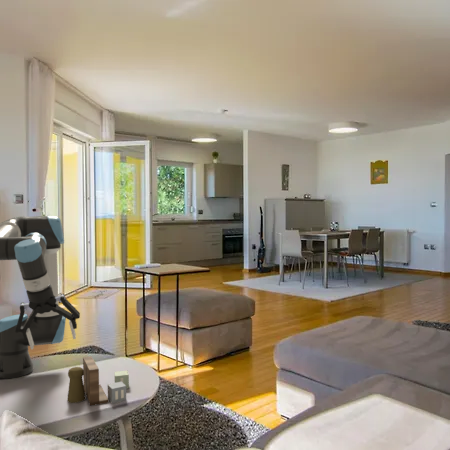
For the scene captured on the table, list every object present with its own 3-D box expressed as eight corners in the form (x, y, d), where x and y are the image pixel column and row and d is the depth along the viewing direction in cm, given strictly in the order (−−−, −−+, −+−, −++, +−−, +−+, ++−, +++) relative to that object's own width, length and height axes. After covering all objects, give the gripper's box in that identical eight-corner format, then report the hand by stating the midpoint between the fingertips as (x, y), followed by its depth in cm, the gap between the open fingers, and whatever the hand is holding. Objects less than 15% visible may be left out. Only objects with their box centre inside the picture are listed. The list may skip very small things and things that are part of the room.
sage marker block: (127, 370, 170) (128, 383, 170) (114, 371, 169) (114, 385, 169) (128, 374, 165) (129, 388, 165) (114, 376, 164) (115, 389, 164)
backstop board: (83, 389, 164) (83, 357, 164) (100, 387, 167) (99, 355, 167) (90, 405, 150) (89, 370, 150) (108, 402, 152) (107, 367, 152)
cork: (79, 403, 152) (79, 371, 152) (63, 402, 153) (63, 370, 153) (88, 396, 158) (88, 365, 158) (73, 395, 159) (72, 364, 159)
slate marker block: (107, 384, 156) (121, 381, 159) (107, 398, 156) (121, 395, 159) (111, 389, 152) (126, 386, 154) (112, 403, 152) (126, 400, 154)
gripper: (-6, 301, 137) (13, 357, 145) (78, 283, 143) (91, 338, 150) (-2, 290, 144) (16, 344, 151) (78, 273, 149) (91, 326, 157)
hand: (53, 341), depth 151 cm, fingers open, 13 cm apart
